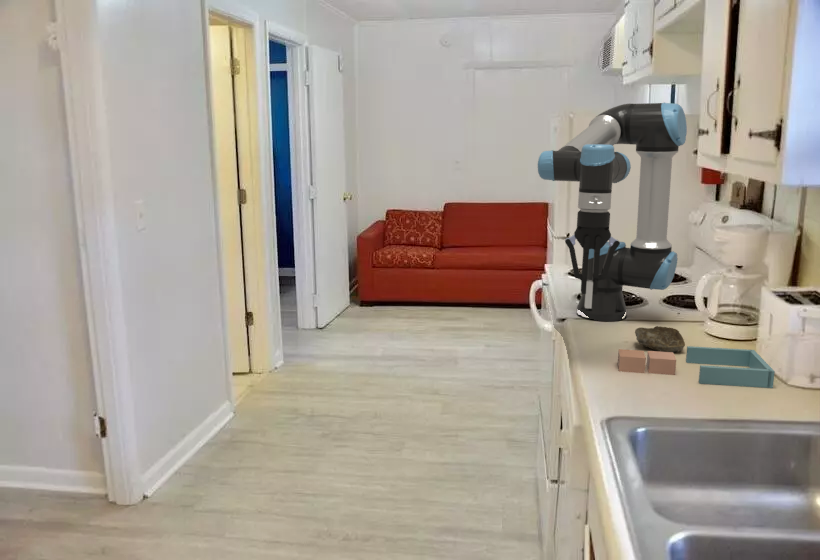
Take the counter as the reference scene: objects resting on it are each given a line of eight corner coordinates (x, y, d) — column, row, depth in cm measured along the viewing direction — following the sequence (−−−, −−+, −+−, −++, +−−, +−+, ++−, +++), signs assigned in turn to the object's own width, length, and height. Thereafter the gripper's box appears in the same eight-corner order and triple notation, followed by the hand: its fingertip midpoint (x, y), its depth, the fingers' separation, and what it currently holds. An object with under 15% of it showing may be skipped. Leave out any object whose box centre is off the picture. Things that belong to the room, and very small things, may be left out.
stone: (636, 346, 188) (636, 318, 192) (632, 356, 195) (632, 329, 199) (686, 350, 186) (686, 321, 189) (681, 360, 193) (680, 333, 196)
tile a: (646, 366, 179) (647, 350, 178) (671, 367, 178) (673, 352, 177) (648, 374, 173) (650, 358, 172) (675, 375, 172) (676, 359, 171)
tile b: (617, 364, 180) (618, 349, 179) (642, 366, 179) (643, 350, 178) (618, 372, 174) (619, 356, 174) (644, 374, 173) (645, 358, 172)
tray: (685, 361, 182) (687, 346, 181) (752, 365, 179) (754, 349, 178) (699, 383, 166) (701, 367, 165) (772, 388, 164) (774, 371, 163)
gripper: (566, 211, 168) (561, 309, 173) (624, 212, 166) (617, 312, 170) (565, 208, 175) (560, 302, 180) (620, 209, 173) (614, 305, 178)
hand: (587, 307), depth 175 cm, fingers closed
